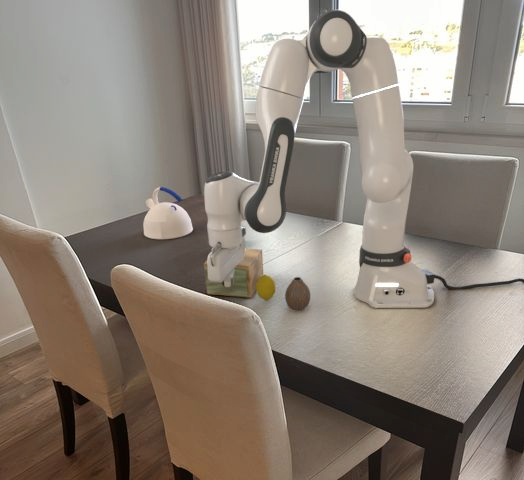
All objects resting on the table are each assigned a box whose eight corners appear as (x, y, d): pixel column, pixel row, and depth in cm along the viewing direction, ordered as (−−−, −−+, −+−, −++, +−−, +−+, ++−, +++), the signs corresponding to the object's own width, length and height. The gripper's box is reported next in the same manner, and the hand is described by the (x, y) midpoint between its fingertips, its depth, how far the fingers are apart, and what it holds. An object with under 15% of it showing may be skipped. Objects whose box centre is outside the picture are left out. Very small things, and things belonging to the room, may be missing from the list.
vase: (303, 315, 132) (302, 285, 128) (281, 310, 136) (280, 281, 131) (314, 305, 137) (314, 276, 133) (293, 300, 141) (292, 272, 136)
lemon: (274, 305, 139) (273, 278, 135) (255, 304, 140) (253, 278, 136) (277, 296, 143) (276, 271, 139) (259, 296, 144) (257, 270, 140)
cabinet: (250, 297, 144) (248, 266, 139) (207, 294, 147) (203, 263, 142) (263, 279, 155) (262, 249, 150) (222, 276, 159) (220, 247, 154)
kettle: (168, 222, 215) (161, 179, 205) (203, 228, 204) (198, 184, 194) (133, 235, 201) (124, 190, 192) (168, 242, 190) (161, 195, 181)
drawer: (246, 297, 142) (244, 272, 137) (205, 294, 145) (202, 269, 141) (259, 279, 153) (258, 255, 149) (221, 276, 156) (219, 253, 152)
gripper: (222, 251, 120) (226, 301, 128) (248, 225, 137) (250, 272, 144) (198, 249, 122) (204, 299, 129) (226, 224, 139) (230, 270, 146)
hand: (229, 284), depth 137 cm, fingers closed
